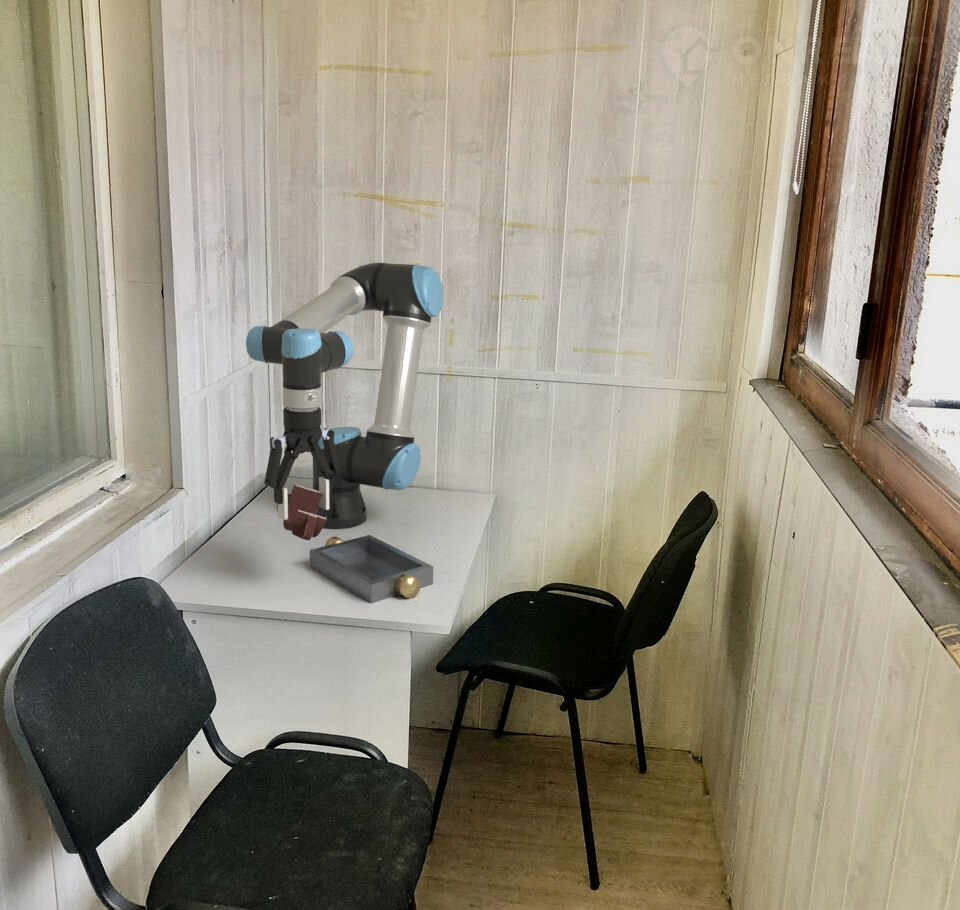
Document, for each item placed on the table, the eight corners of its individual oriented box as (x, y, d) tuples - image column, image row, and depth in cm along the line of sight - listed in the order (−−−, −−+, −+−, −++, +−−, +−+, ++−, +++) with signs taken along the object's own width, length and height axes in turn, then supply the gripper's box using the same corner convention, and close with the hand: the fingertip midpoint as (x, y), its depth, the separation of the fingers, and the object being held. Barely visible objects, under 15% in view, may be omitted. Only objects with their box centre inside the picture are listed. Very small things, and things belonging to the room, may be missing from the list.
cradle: (302, 562, 203) (302, 544, 202) (361, 547, 214) (362, 529, 213) (380, 608, 183) (380, 587, 182) (441, 588, 193) (442, 569, 192)
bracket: (292, 536, 181) (308, 487, 182) (268, 525, 196) (283, 480, 197) (320, 544, 184) (335, 496, 185) (295, 532, 199) (309, 488, 200)
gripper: (262, 418, 174) (265, 529, 181) (358, 403, 188) (358, 507, 195) (243, 410, 179) (247, 518, 186) (337, 396, 194) (338, 497, 200)
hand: (303, 512), depth 190 cm, fingers closed on bracket, 9 cm apart
